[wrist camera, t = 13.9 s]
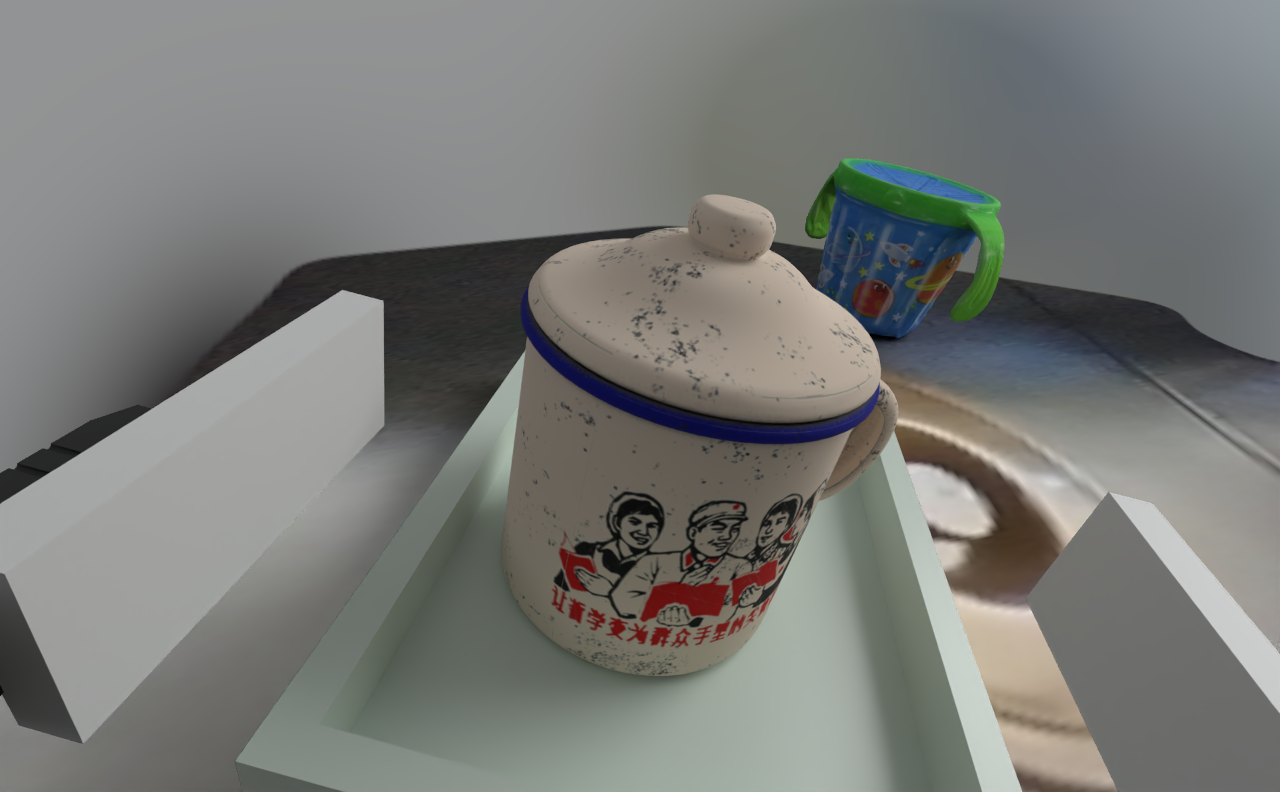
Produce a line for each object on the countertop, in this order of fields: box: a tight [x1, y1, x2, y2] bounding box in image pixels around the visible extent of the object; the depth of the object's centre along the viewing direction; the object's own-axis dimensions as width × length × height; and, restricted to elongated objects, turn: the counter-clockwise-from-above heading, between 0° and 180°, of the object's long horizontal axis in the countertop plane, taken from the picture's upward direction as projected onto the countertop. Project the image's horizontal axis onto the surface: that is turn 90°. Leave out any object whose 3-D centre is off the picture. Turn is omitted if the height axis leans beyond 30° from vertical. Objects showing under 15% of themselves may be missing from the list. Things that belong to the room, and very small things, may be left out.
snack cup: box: [805, 158, 1004, 338], centre depth 44 cm, size 16×10×10 cm
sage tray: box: [235, 350, 1022, 792], centre depth 21 cm, size 16×20×3 cm
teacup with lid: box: [501, 195, 898, 676], centre depth 18 cm, size 12×9×12 cm
